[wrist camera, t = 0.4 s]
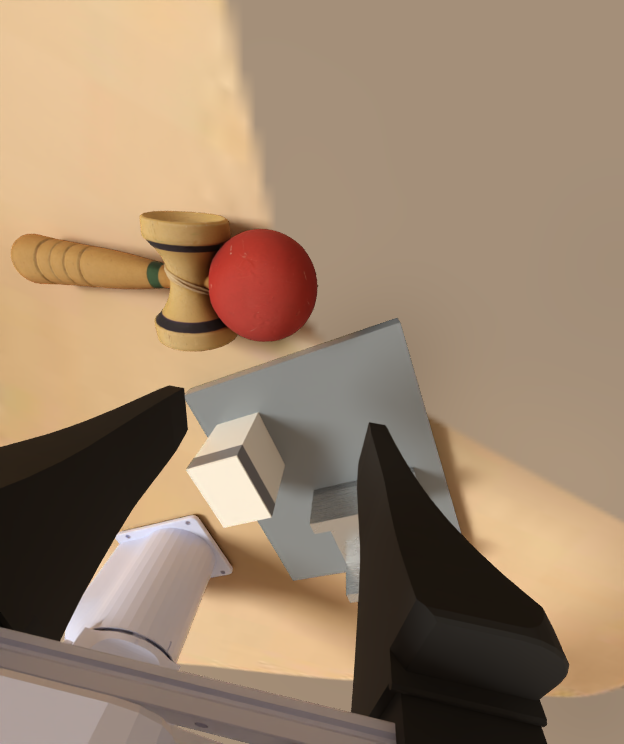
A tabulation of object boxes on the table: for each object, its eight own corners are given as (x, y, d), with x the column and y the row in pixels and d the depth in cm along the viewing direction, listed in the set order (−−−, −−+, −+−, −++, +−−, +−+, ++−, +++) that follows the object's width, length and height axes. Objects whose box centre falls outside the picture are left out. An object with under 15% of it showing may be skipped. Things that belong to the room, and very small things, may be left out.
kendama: (89, 321, 24) (317, 357, 21) (-10, 326, 18) (291, 379, 15) (84, 212, 22) (333, 232, 19) (-27, 176, 16) (310, 198, 13)
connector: (245, 475, 25) (223, 527, 21) (216, 424, 23) (185, 470, 19) (285, 465, 24) (271, 517, 20) (258, 412, 23) (236, 455, 18)
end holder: (349, 563, 28) (350, 602, 25) (313, 489, 25) (309, 524, 22) (439, 548, 26) (452, 588, 23) (413, 467, 23) (423, 501, 20)
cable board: (294, 568, 31) (293, 580, 30) (190, 388, 24) (182, 395, 23) (461, 539, 27) (466, 552, 26) (397, 317, 20) (400, 322, 19)
